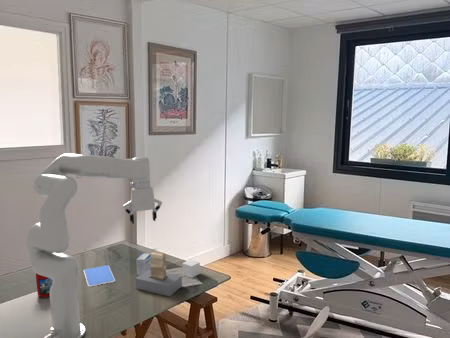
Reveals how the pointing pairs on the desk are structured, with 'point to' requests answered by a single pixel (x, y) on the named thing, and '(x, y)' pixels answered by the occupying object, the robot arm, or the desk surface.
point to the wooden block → (158, 265)
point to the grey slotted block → (159, 283)
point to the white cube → (191, 268)
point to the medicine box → (143, 263)
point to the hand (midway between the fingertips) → (143, 221)
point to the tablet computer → (98, 276)
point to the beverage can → (43, 285)
